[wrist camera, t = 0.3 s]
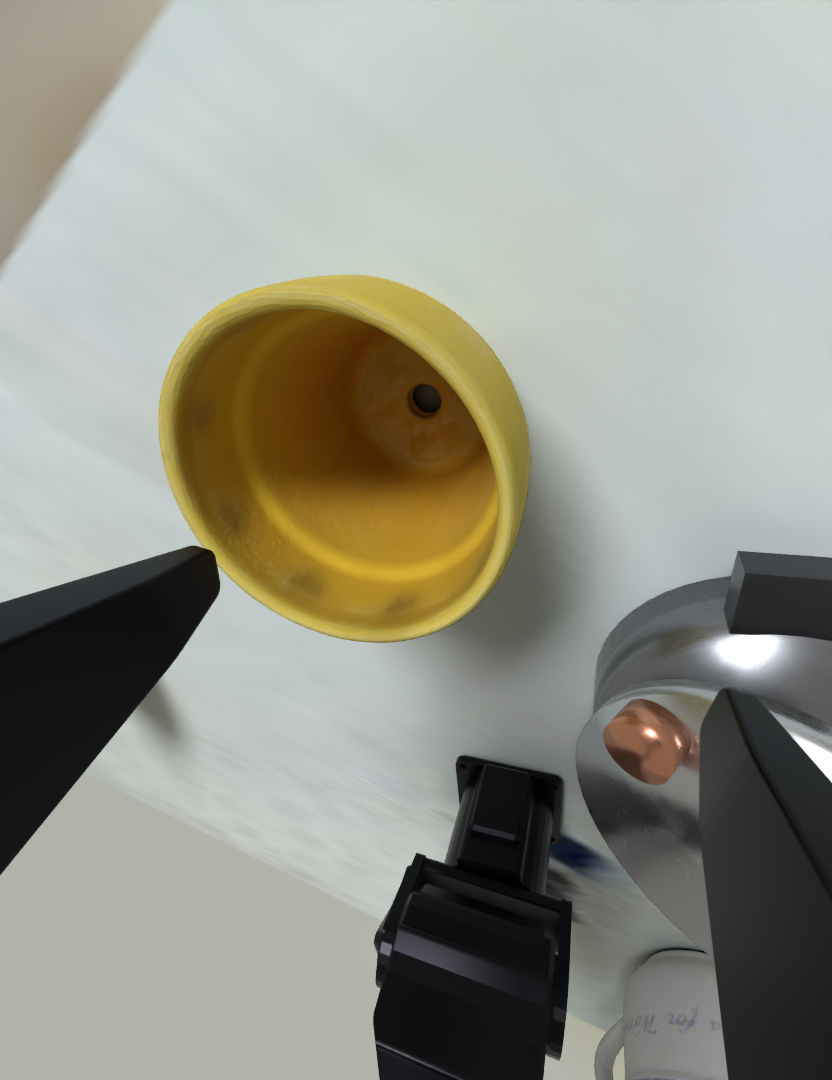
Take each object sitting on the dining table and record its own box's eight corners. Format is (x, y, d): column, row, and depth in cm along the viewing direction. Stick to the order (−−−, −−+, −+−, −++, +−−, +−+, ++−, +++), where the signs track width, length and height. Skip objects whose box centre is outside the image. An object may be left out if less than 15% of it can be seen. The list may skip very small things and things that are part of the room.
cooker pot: (853, 837, 27) (884, 923, 23) (585, 780, 31) (580, 846, 28) (1020, 536, 18) (1107, 609, 15) (610, 513, 22) (608, 566, 19)
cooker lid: (930, 1095, 17) (912, 1177, 16) (583, 823, 26) (552, 860, 25) (1181, 888, 11) (1186, 998, 9) (603, 618, 20) (562, 654, 18)
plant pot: (489, 189, 17) (381, 176, 10) (596, 460, 21) (580, 611, 13) (273, 332, 23) (87, 398, 15) (388, 530, 26) (287, 669, 18)
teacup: (757, 931, 33) (790, 1105, 27) (819, 1022, 36) (862, 1199, 30) (557, 925, 41) (545, 1061, 34) (622, 1001, 43) (622, 1139, 37)
